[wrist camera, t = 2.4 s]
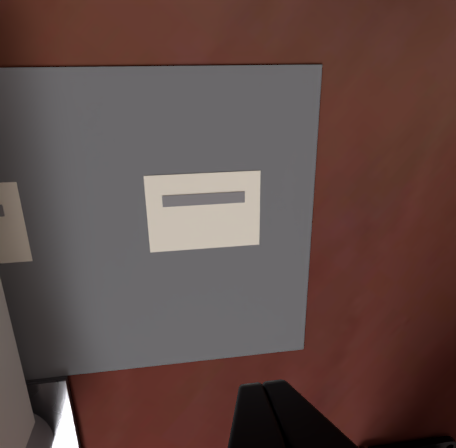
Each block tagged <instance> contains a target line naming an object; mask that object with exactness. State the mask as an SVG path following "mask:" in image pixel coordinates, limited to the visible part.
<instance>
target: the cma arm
mask: <svg viewBox="0 0 456 448" xmlns="http://www.w3.org/2000/svg"><path fill="white" fill-rule="evenodd" d="M53 439H54V438H53V433H52V430H51V428H50V426H49V425H48V424H47V422H46V421H45V420H44V419H42V418H41V417H40V416H38V415H36V414H34V413H33V411H32V407H31V403H30V399H29V395H28V390H27V386H26V382H25V378H24V374H23V370H22V366H21V361H20V357H19V353H18V349H17V345H16V341H15V337H14V332H13V328H12V324H11V320H10V316H9V312H8V308H7V304H6V299H5V295H4V291H3V287H2V283H1V279H0V448H52V446H53Z"/></svg>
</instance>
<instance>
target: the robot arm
mask: <svg viewBox="0 0 456 448" xmlns="http://www.w3.org/2000/svg"><path fill="white" fill-rule="evenodd" d="M228 448H359V447H358V446H356V445H355V444H354V443H353V442H352V441H351V440H350V439H349V438H348V437H347V436H346V435H344V434H343V433H342V432H341V431H340V430H339V429H338V428H337V427H336V426H335V425H334V424H332V423H331V422H330V421H329V420H328V419H327V418H326V417H325V416H324V415H323V414H321V413H320V412H319V411H318V410H317V409H316V408H315V407H314V406H313V405H312V404H311V403H309V402H308V401H307V400H306V399H305V398H304V397H303V396H302V395H301V394H300V393H298V392H297V391H296V390H295V389H294V388H293V387H292V386H291V385H290V384H289V383H288V382H286V381H285V380H273V381H266V382H264V383H263V384H261V383H258V382H257V383H249V384H242V385H240V387H239V390H238V396H237V401H236V406H235V412H234V417H233V422H232V428H231V433H230V438H229V444H228ZM371 448H456V442H455V440H454V439H453V438H452V437H451V436H444V437H438V438H431V439H424V440H418V441H411V442H404V443H398V444H391V445H385V446H378V447H371Z"/></svg>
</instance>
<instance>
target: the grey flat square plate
mask: <svg viewBox="0 0 456 448" xmlns="http://www.w3.org/2000/svg"><path fill="white" fill-rule="evenodd" d="M25 382H26V386H27V390H28V395H29V399H30V403H31V407H32V411H33V413H34V414H36V415H38V416H40V417H41V418H42V419H44V420H45V421H46V422H47V424H48V425H49V426H50V428H51V430H52V433H53V438H54V439H53V446H52V448H81V443H80V438H79V433H78V428H77V423H76V417H75V412H74V407H73V402H72V397H71V392H70V386H69V381H68V376H59V377H50V378H41V379H32V380H25Z"/></svg>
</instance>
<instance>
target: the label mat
mask: <svg viewBox="0 0 456 448" xmlns="http://www.w3.org/2000/svg"><path fill="white" fill-rule="evenodd" d="M321 76H322V65H228V66H126V67H24V68H0V279H1V283H2V287H3V291H4V295H5V299H6V304H7V308H8V312H9V316H10V320H11V324H12V328H13V332H14V337H15V341H16V345H17V349H18V353H19V357H20V361H21V366H22V370H23V374H24V378H25V380H32V379H41V378H50V377H59V376H68V375H77V374H86V373H95V372H104V371H113V370H122V369H131V368H140V367H148V366H157V365H166V364H175V363H184V362H193V361H202V360H211V359H220V358H229V357H238V356H247V355H256V354H265V353H274V352H283V351H292V350H301V349H304V334H305V319H306V304H307V289H308V274H309V258H310V243H311V228H312V213H313V198H314V183H315V167H316V152H317V137H318V122H319V107H320V92H321Z"/></svg>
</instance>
